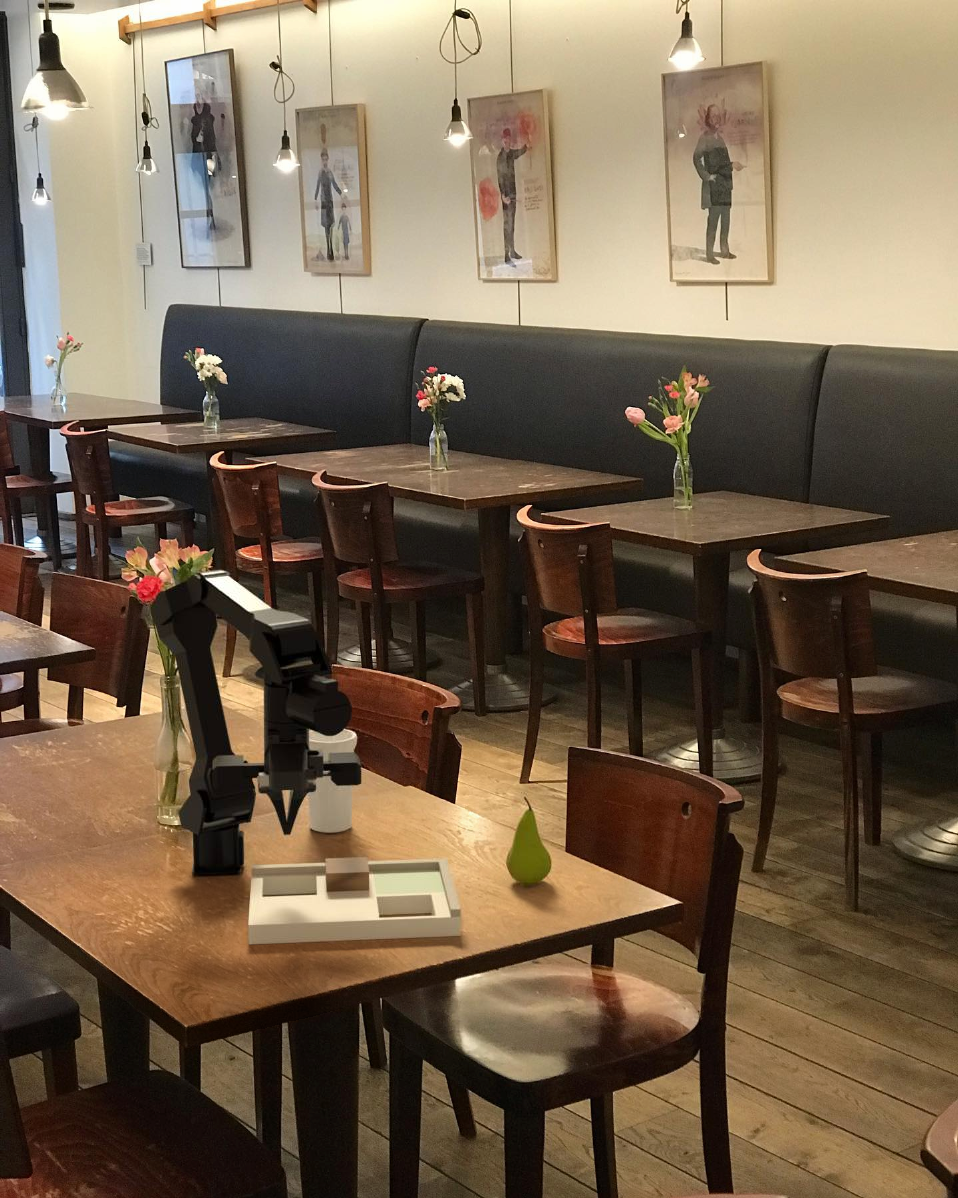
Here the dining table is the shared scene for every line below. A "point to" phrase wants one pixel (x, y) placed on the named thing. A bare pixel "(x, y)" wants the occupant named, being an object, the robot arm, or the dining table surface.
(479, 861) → the dining table surface
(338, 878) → the walnut block
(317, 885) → the box
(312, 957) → the dining table surface
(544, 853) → the fruit
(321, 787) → the cup
